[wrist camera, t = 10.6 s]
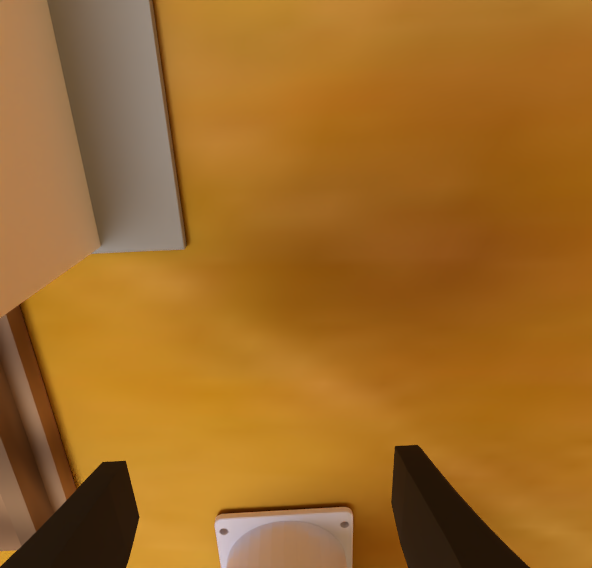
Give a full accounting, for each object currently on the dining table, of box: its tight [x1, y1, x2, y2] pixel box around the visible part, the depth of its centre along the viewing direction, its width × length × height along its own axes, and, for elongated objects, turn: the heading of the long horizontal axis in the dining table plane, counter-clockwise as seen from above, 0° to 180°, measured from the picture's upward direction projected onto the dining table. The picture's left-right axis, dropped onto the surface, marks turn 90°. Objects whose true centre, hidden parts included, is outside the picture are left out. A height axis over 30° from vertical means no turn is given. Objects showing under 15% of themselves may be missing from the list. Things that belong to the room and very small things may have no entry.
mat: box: [47, 0, 187, 254], centre depth 16 cm, size 11×10×1 cm
